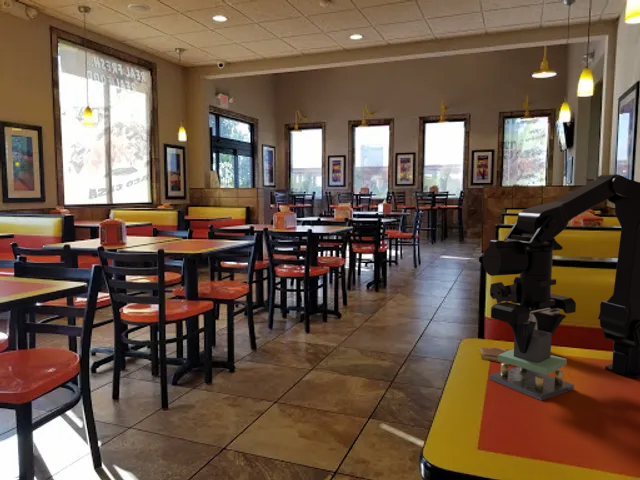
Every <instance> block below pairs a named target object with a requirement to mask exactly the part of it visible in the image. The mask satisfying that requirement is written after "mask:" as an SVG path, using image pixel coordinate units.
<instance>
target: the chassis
mask: <svg viewBox="0 0 640 480" xmlns="http://www.w3.org/2000/svg"><path fill="white" fill-rule="evenodd" d="M488 378H489V380H490V381H493V382H495V383H498V384H500V385H503V386H505V387H507V388H510V389H511V390H514V391H517V392H519V393H522V394H523V395H526V396H529V397H531V398H533V397H534V399H536V400H538V399H539V400H538V401H540V402H541V401H545V400H548V399H550V398H553V397H557V396H560V395H563V394H565V393H568V392H571V391H574V390H575V384H573V383H570V382H568V381H565V380H563V379H564V371H563V370H562V369H558V370H556V371H554V376H551V375H550V374H548V375H545V374H542V373H539V372H535V371H532V370H528V369H525V368H522V367H515V366H514V367H512V368H509V365H508V364H507V363H500V371H498V372H494V373H489V377H488Z"/></svg>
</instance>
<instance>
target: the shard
mask: <svg viewBox="0 0 640 480" xmlns="http://www.w3.org/2000/svg"><path fill="white" fill-rule="evenodd" d="M478 351H479V352H480V353H481V355H480V359H481V360H485V361H492V362H496V363H500V364H501V363H505V362H501V361H498V355H499V354H502V353H504V352H507V351H509V350H507V349H505V348H500V347H478ZM507 364H508V363H507ZM508 366H512V367H514V368H515V367H518V366H515V365H511V364H508Z"/></svg>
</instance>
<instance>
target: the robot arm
mask: <svg viewBox="0 0 640 480" xmlns="http://www.w3.org/2000/svg"><path fill="white" fill-rule="evenodd" d="M605 201H606V202H609V203H611V204H613V205H614V214H615V216H616V219H617V221H618V223H619V225H620V227H621V228H620V229H621V230H620V238H619V243H618V244H619V246H618V253H617V260H616V261H617V262H616V270H615V276H614V277H615V278H614V285H613V293H612V295H611V296H610V297H609V298H608V299H607V300H606V301H604V300H602V301H601V302H600V304H599V306H600V307H599V314H598V317H597V319H598V320H599V326H600V328H601V329H602V333H603V337H604V339H606V340H610V341H613V345H612V346H613V347H612V359H611V361H612V362H611V364H609V365H606V366H604V369H605V370H607V371H611V372H613V373H616V374H620V375H623V376H626V377H629V378H632V379H638V378H640V181H636V180H632V179H629V178H628V177H626V176H624V175H621V174H614V173H613V174H600V175H599V176H596V177H595V178H594V179H593V180H591V181H590V182H588V183H586V184H584V185H582V186H580V187H578V188H577V189H575V190H573V191H571V192H569V193H567V194H566V195H564V196H561V197H560V198H558V199H557V200H555V201H552V202H547V203H543V204H539V205H534V206H532V207H528V208H525V209H523V210H522V211H519V212H518V215H517V219H516V221H515V223H513V226H512V227H511V229H510V230H509V232H508V233H507V235H506V236H505V238H504V239H503V240H499V239H490V240H489V246H487V247H486V249H485V251H484V254H483V255H482V259H481V260H482V265H483V269H484V271H485V273H486V274H487V275H489V276H491V277H496V276H510V275H512V276H513V275H519V276H515V277H514V279H513V284H509V285H508V284H507V285H505V284H504V283H503V282H502V281H500V282H499V281H498V282H494V283H493V282H492V283H491V284H490V286H489V287H490V288H489V295H490V298H491V299H492V300H496V303H495V304H493V305H492V306H491V307H490V318H491V319H494V320H498V321H501V322H505V323H507V324H508V325H509V326H510V327H511V329H512V333H513V335H515V338H516V341H517V344H518V347H519V350H520V352H521V353H524V354H525V353H526V352H527V349H528V346H529V343H530V340H531V337H532V334H533V331H534V328H535V324H536V322H533V321H530V315H531V314H532V313H533V314H534V316H535V318H536V319H537V330H540V331H545V332H549V333H552V335H551V338H552V337H553V335H554V333H555V331H556V330H557V329H558V328H559V326H560V324H561V323H562V321H563V320H564V319H566V317H567V314H568V315H569V314H573V313H576V308H577V307H576V306H577V303H576V301H575V300H574V299H573V297H571V296H570V297H569V296H566V295H565V296H564V295H561V294H559V295H558V294H554V293H552V286H556V285H557V279H556V278H553V277H552V275H553V258H554V257H553V255H554V254H553V251H561V250H563V249H564V247H563V246H562V245H561V244H560V243H559V242H558V241H557V240H556V237H557V236H559V235H560V233H563V231H564V230H565V229H566V228H567V226H568V224H569V222H570V221H572V220H573V219H574V218H576V217H578V216H580V215H581V214H583V213H585V212H587V211H589V210H591V209H592V208H594V207H596V206H598V205H599V204H601V203H603V202H605ZM518 303H519V304H520V305H518ZM529 308H531V309H529ZM560 310H562V311H563V313H564V314H562V313H561V312H560Z"/></svg>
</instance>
